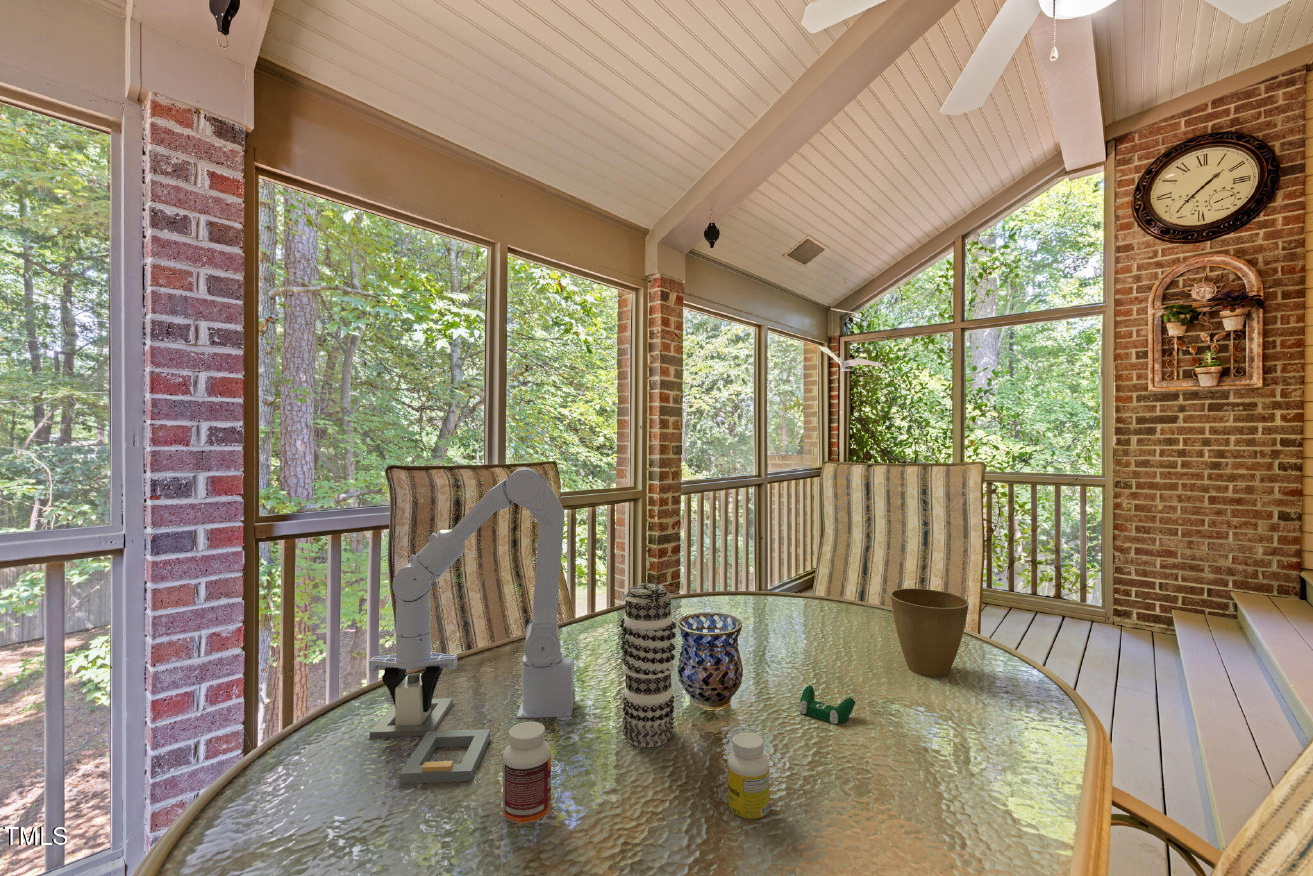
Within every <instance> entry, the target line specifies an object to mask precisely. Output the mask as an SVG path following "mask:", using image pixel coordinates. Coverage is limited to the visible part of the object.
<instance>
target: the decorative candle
mask: <svg viewBox="0 0 1313 876" xmlns="http://www.w3.org/2000/svg"><path fill="white" fill-rule="evenodd" d="M622 597H623V598H622V599H624V600H625V603H624V604H625V608H624V609H625V613H624V615H623V616H624V618H622V619H621V620H620V624H619V627H620V628H621V633H620V635H621V636H620V640H621V645H620V649H621V650H622V655H621V657H622V658H621V662H622V663H623V664H622V671H623V672H624V673H625V683H624V694H623V696H622V702H623V707H622V712H623V717H622V719H621V720H622V724H623V727H622V730H621V731H622V733H623V735H624V737H625V739H627V741H628V742H629V743H630V744H631V745H632V744H633V745H635V746H637V747H643V748H651V747H657V746H662V745H663V744H666V743H667V742H668V741H669V740H670V739H671V738H672V736H673V735H674V734H675V731H674V730H675V726H674V725H675V721H674V720H675V717H674V712H675V706H674V703H675V696H674V694H673V685H672V684H673V683H672V673H673V671H674V670H675V669H674V668H675V667H674V662H673V661H674V660H675V658H676V655H675V654H674V653H673V652H674V651H675V650H676V645H675V644H674V643H672V642H671V640H673V639H675V638H676V637H677V636H676V635H677V634H676V632H675V631H673V630H674V629H676V628H677V624H676V623H677V622H675V621H673V614H672V606H671V605H672V598H673V594H672V593H670V592H668V590H667V589H666V587H665V586H663V585H661V584H658V583H651V582H648V583H647V582H646V583H645V582H644V583H638V584H634V585H632V586H631V587H630V588H629V589H628V591H627V592H626V593H625V594H623V595H622Z"/></svg>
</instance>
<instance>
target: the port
mask: <svg viewBox="0 0 1313 876" xmlns="http://www.w3.org/2000/svg"><path fill="white" fill-rule="evenodd" d="M490 741H491V729H490V728H489V729H487V728H486V729H455V730H435V731H427V733H426V734H425V736H422V739H421V740H420V742H419V744H418V745H417V747H416V748H415V750H414V751H413V752H412V754H411V755H410V757H409V759H408V760H407V762H406V763H405V765H404V766H403V767H402V769H401V770H400V772H399V775H398V776H399V777H398V778H399V781H398V782H399V785H404V784H405V785H407V784H425V783H426V784H427V783H428V784H429V783H430V784H431V783H432V784H433V783H449V782H450V783H453V782H455V783H456V782H472V780H473V778H474V776H475V775H476V771H477V769H478V767H479V765H480V763H481V760H482V758H483V756H484V753H486V750H487V747H488V745H489V743H490ZM448 747H449V748H450V747H451V748H452V747H453V748H455V747H456V748H457V747H468V748H467V750H466V752H465V754H464V757H463V759H462V761H461V763H454V760H444V761H443V760H442V761H440V760H439V761H429V760H430V758H431V757H432V755H433V754H434V752H435V750H436V749H437V748H448Z"/></svg>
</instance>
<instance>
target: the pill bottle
mask: <svg viewBox="0 0 1313 876" xmlns="http://www.w3.org/2000/svg"><path fill="white" fill-rule="evenodd" d="M545 739H546V728H545V725H544V724H543V723H541V722H538V721H523V722H520V723H517V724H515V725H513V726H511V727H510V728H509V731H508V740H507V741H508V745H507V746H506V748H505V749H504V752H503V755H502V813H503V816H504V818H505V819H506V820H507V821H509V822H512V823H515V824H527V823H533V822H535V821H538V820H540V819H542V818H543V817H546V815H547V814H548V813H549V812H550V810H551V807H552V766H551V765H552V753H551V752H552V750H551V746H550V744H549V743H548V742H547V741H546V740H545Z"/></svg>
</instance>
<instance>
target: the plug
mask: <svg viewBox="0 0 1313 876" xmlns="http://www.w3.org/2000/svg"><path fill="white" fill-rule="evenodd" d="M406 675H407V676H405V679H404V680H403V681H402V682H401V683H400V684H399V685H398V686H397V687H396V689H395V723H394V724H395V725H394V726H396V725H423V724H424V723H425V722H426V720H427V719H428V717H429V716H430V714H431V713H432V709H431V708H430V709H429V711H428V712H423V687H422V681H421V675H422V673H419V672H414V673H409V674H406Z"/></svg>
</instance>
